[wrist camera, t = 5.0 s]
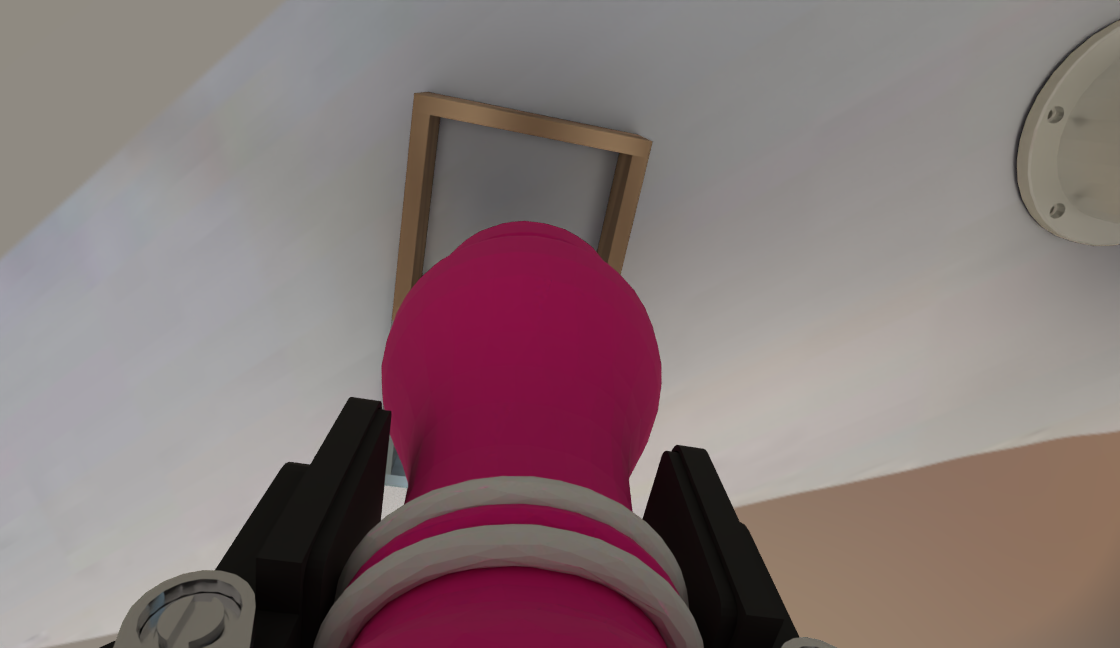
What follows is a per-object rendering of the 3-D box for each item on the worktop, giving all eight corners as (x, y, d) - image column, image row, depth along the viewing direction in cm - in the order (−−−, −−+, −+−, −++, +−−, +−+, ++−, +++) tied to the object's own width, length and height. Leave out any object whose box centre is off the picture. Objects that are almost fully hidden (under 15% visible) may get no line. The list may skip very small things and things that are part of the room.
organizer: (638, 134, 33) (652, 141, 29) (560, 468, 40) (564, 507, 37) (427, 91, 31) (414, 93, 28) (389, 446, 39) (375, 484, 35)
